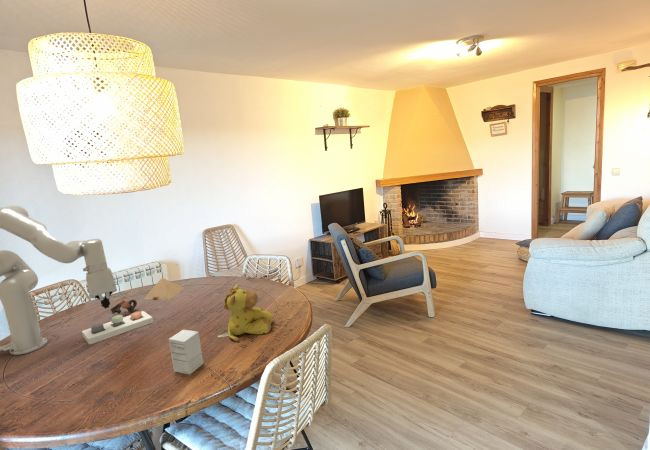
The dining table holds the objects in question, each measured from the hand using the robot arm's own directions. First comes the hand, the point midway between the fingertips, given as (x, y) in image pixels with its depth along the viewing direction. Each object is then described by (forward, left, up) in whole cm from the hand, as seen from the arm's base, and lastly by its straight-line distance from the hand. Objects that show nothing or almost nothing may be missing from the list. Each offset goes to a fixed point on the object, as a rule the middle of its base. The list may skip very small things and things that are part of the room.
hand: (106, 307), depth 163 cm
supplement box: (+10, -57, -12) cm, 59 cm away
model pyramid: (+35, +30, -13) cm, 47 cm away
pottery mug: (+11, +17, -12) cm, 23 cm away
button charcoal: (-5, 0, -11) cm, 12 cm away
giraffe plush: (+41, -48, -12) cm, 64 cm away
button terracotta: (+11, 0, -11) cm, 16 cm away
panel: (+3, 0, -12) cm, 12 cm away
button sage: (+3, 0, -10) cm, 10 cm away
